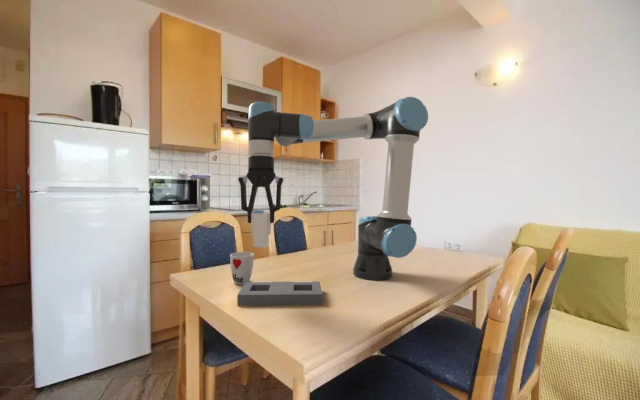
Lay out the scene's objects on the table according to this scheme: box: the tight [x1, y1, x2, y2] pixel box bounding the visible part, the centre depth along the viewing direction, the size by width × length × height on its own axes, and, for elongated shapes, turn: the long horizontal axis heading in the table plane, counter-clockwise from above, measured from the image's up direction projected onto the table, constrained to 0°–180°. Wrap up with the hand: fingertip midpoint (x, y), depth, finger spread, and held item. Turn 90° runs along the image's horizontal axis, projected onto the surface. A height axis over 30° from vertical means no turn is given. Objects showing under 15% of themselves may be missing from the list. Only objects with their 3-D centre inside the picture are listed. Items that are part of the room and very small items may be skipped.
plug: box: [252, 209, 270, 248], centre depth 89 cm, size 4×4×11 cm
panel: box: [236, 280, 323, 306], centre depth 89 cm, size 24×12×3 cm, turn 93°
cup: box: [229, 251, 255, 286], centre depth 103 cm, size 8×8×10 cm
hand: (261, 233), depth 89 cm, fingers closed on plug, 4 cm apart
